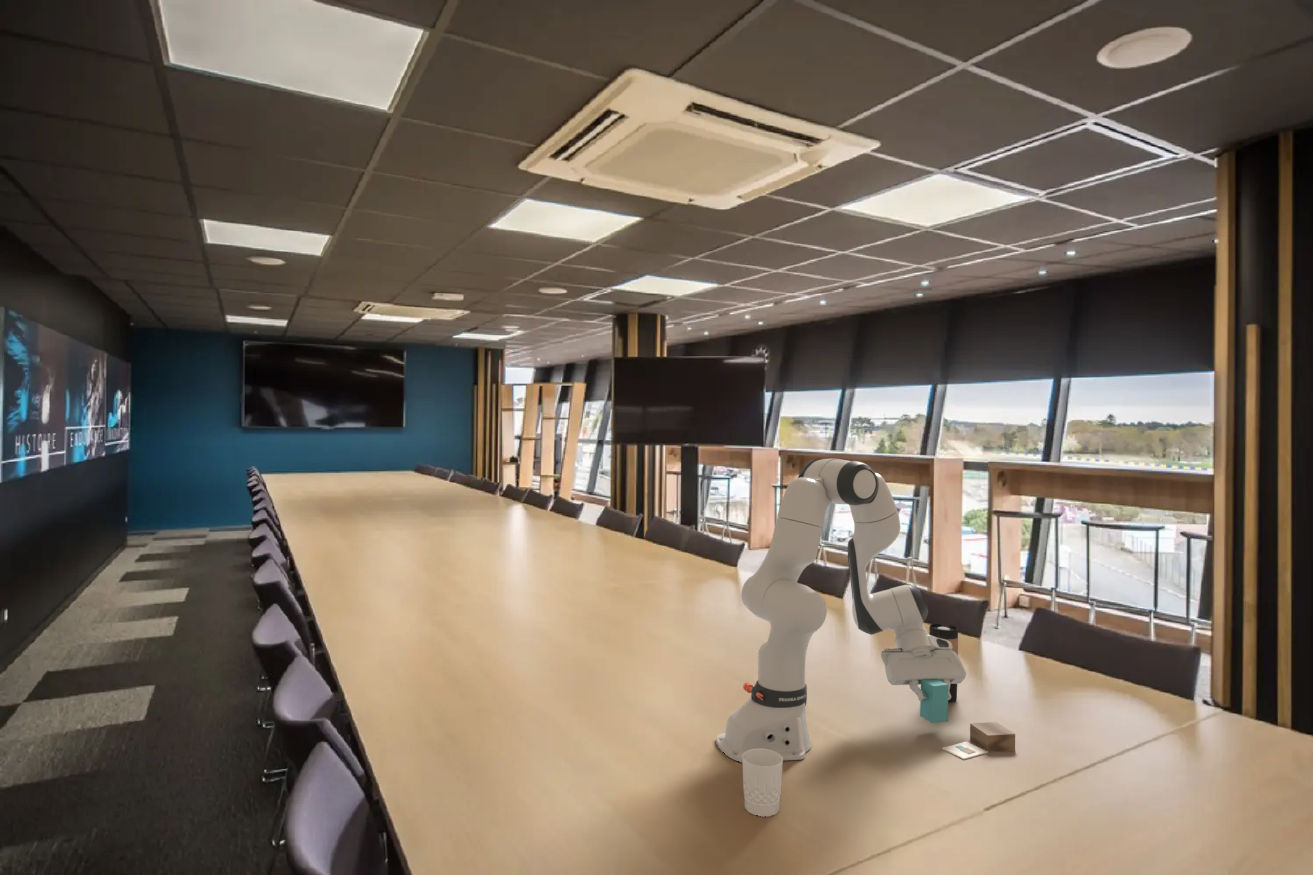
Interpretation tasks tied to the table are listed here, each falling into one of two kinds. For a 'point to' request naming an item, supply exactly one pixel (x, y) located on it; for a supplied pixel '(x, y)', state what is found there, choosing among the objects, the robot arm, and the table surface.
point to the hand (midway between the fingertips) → (935, 699)
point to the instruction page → (965, 750)
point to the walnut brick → (992, 736)
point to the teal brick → (934, 701)
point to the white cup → (762, 781)
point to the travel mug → (951, 635)
